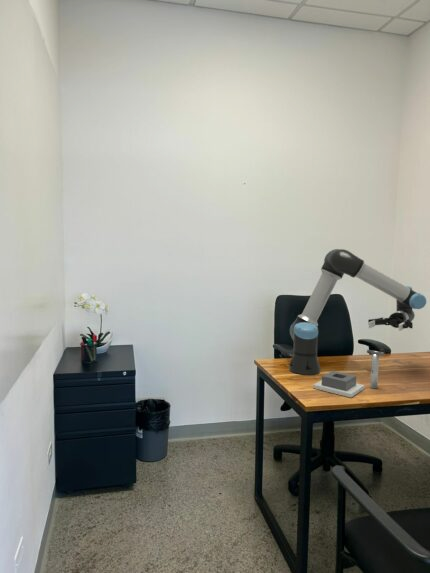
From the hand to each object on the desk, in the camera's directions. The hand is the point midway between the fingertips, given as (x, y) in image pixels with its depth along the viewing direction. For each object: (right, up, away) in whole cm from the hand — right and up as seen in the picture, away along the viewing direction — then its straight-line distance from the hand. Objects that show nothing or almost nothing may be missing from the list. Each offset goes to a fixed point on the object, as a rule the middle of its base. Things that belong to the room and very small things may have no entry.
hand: (384, 326), depth 186 cm
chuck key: (-8, -26, -8) cm, 29 cm away
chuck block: (-24, -26, -10) cm, 37 cm away
